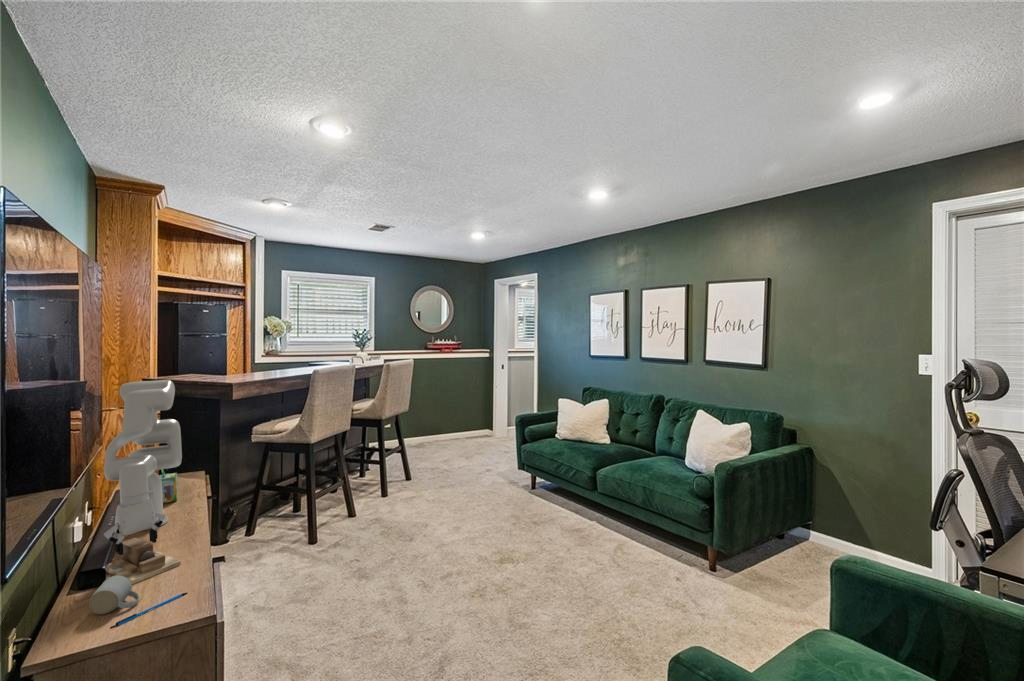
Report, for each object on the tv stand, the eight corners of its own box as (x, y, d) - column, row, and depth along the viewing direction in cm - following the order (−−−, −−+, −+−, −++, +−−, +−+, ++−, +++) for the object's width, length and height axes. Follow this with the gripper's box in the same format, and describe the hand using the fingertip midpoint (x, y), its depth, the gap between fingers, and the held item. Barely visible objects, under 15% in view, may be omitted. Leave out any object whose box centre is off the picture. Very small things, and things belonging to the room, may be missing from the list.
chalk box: (176, 501, 221) (175, 470, 221) (152, 505, 217) (150, 473, 216) (179, 495, 229) (177, 465, 229) (155, 499, 225) (154, 468, 224)
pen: (109, 628, 128) (109, 624, 128) (186, 593, 144) (186, 589, 144) (111, 629, 127) (111, 625, 127) (188, 594, 144) (188, 590, 144)
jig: (102, 569, 159) (101, 557, 159) (150, 551, 171) (150, 540, 171) (132, 584, 149) (131, 571, 149) (180, 564, 162) (180, 552, 162)
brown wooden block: (120, 559, 163) (119, 542, 163) (136, 554, 167) (135, 537, 167) (141, 569, 156) (140, 551, 156) (156, 563, 160) (155, 545, 160)
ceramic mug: (86, 618, 132) (85, 591, 132) (101, 602, 140) (101, 576, 140) (132, 612, 135) (131, 585, 135) (144, 596, 143) (144, 571, 143)
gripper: (157, 488, 171) (159, 535, 171) (97, 505, 155) (100, 556, 156) (169, 491, 167) (171, 539, 168) (108, 509, 152) (111, 561, 153)
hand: (136, 547), depth 162 cm, fingers open, 9 cm apart
